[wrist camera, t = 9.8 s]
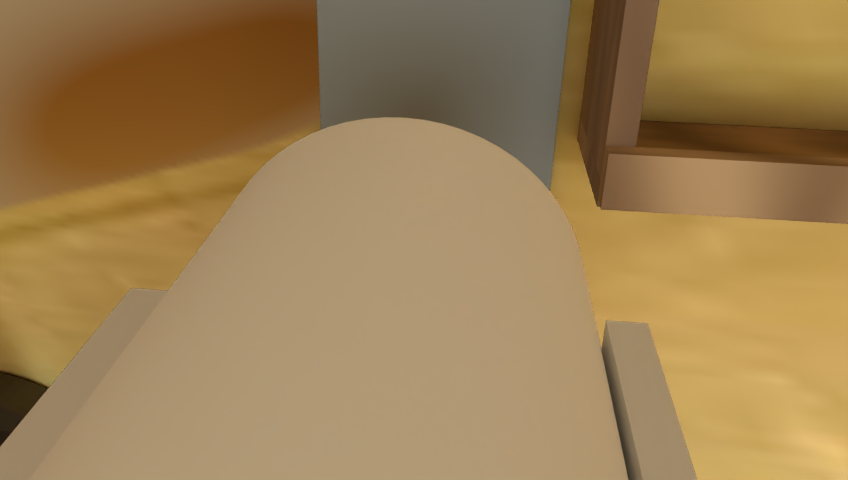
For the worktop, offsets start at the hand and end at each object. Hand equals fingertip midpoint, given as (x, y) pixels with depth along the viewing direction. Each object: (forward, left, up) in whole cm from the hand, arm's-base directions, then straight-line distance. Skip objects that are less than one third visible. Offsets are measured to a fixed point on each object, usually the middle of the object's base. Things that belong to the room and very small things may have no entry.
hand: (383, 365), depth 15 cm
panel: (0, 0, -20) cm, 20 cm away
